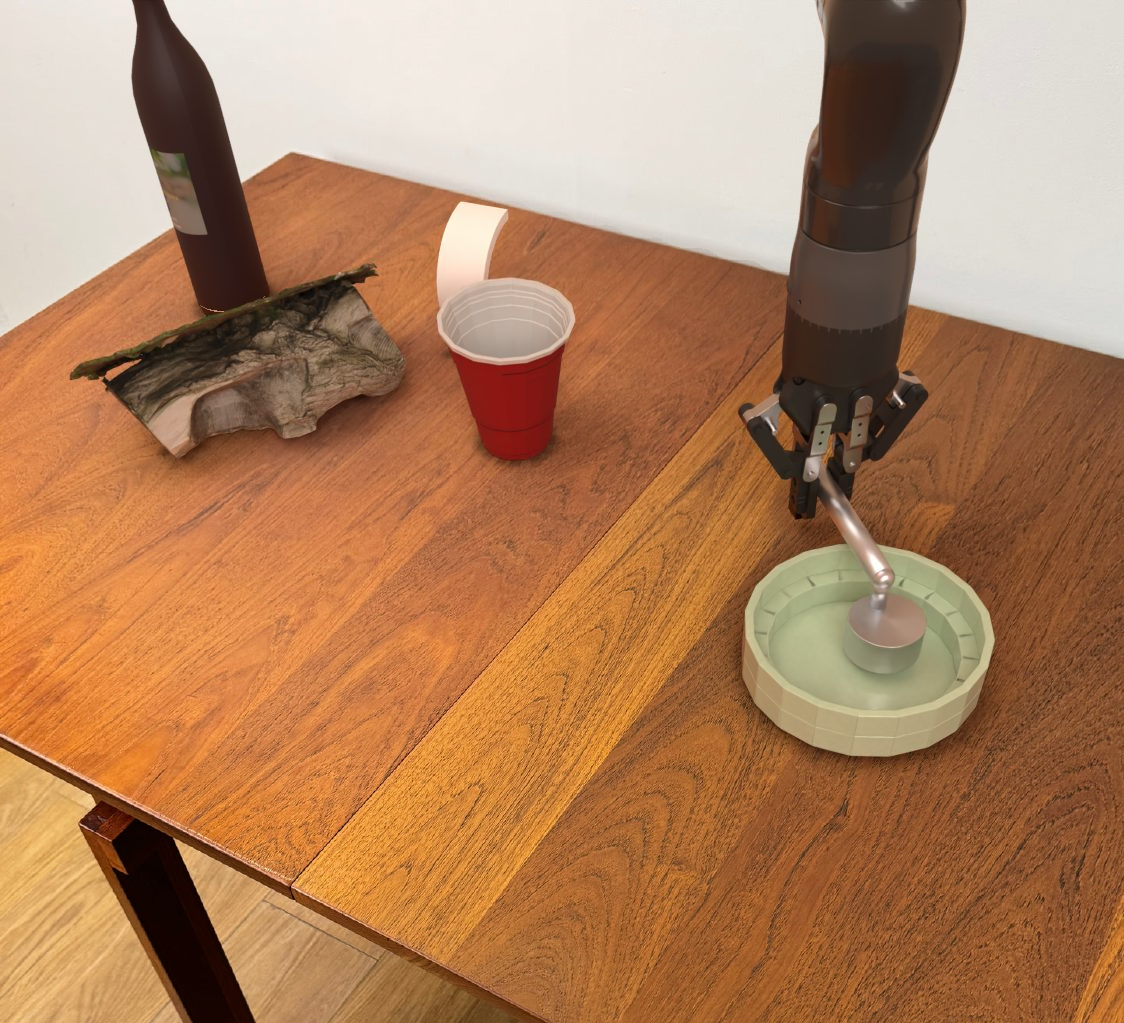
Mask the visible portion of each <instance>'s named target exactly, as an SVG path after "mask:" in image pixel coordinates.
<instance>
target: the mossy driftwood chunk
mask: <svg viewBox="0 0 1124 1023" xmlns="http://www.w3.org/2000/svg"><path fill="white" fill-rule="evenodd" d="M373 268H375V269H373ZM376 269H378V267H377V265H376V264H375V263H364V264H362V265H360V266H359V267H358V268H355V269H351V270H348V271H347V270H346V271H340V272H338V273H336V274H332V275H328V276H326V277H322V278H318V279H316V280H313V281H307V282H304V283H301V284H297V285H294V286H292V287H289V288H284V289H282V290H281V291H279V293H277V294H275V295H272V296H269V297H268V298H262V299H258V300H256V301H254V302H251V303H246V304H245V305H243V306H240V307H237V308H234V309H231V310H227V311H224V312H221V313H218V314H214V315H210V316H208V315H207V316H204V317H203V318H200V319H197V320H196V321H193V322H192V323H186V324H182V325H181V326H179V327H177V328H175V329H171V330H166V331H162V332H161V333H159V334H158V335H156V336H154V337H153V338H151V339H149V340H145V341H143V342H140V344H138V345H136V346H134V347H130V348H126V349H121V350H118V351H115V352H113V354H111V355H106V356H102V357H98V358H92V359H89V360H85V361H83V362H81V363H79V364H78V365H76V367H75V368H73V371H70V373H69V381H74V380H78V379H79V380H80V379H81V378H83V377H84V378H87V382H89V381H98V380H100V379H101V378H102V380H100V382H101V383H103V384H104V385H105V387H106V388H105V389H104V391H105V392H106V393H110V394H111V395H112V396H113V397H114V398H116V400H117V401H118V402H119V403H120V404H122V406H123V407H124V408H125V409H126V410H127V411H128V412H129V413H130V414H131V415H132V416H133V417H134V418H135V419H136V420H137V421H139V423H140V424H141V425H142V427H144V428H145V429H146V430H147V431H148V432H149V433H150V435H151V436H152V437H153V438H155V439H156V441H157V442H158V443H159V444H161V446H163V448H165V449H166V451H167V452H169V453H170V454H171V455H172V456H173V457H174V458H176V459H179V460H180V459H181V457H183V456H186V455H187V453H188V452H190V451H191V450H192V449H194V448H197V447H198V446H199V444H201V443H202V442H203V441H204V440H206V439H207V438H210V437H213V436H217V435H225V434H233V433H235V432H237V431H239V430H241V429H243V430H248V431H255V430H260V431H261V430H265V429H272V430H274V431H275V432H276V434H277V436H279V437H280V438H283V439H292V438H298V437H302V436H306V435H307V434H310V433H312V432H314V431H316V430H317V422H318V420H319V419H320V418H321V417H322V416H323V415H324V414H325V413H326V412H327V411H328V410H330V409H332V408H333V407H335V406H337V405H339V404H340V403H342V402H343V401H347V400H349V399H353V398H355V397H357V396H359V395H363V396H368V397H369V398H373V397H381V396H386V395H387V394H390V393H391V392H394V391H395V390H396V389H398V388H399V386H400V384H401V383H402V382H401V381H402V380H403V376H404V374H405V372H406V371H407V368H406V367H407V362H406V361H407V360H406V358H405V355H404V354H403V352H402V351H401V350H400V348H399V347H398V345H397V344H396V342H395V341H394V339H392V337H391V335H389V333H388V332H387V331H386V330H385V328H384V327H383V325H382V324H380V322H379V321H378V319H376V317H375V315H374V314H373V311H372V309H371V307H370V306H369V305H368V303H367V301H366V300H365V299H364V297H363V296H362V295H361V294H362V293H360V292H359V290H358V289H357V288H356V286H355V284H365V282H366V279H367V278H371V277H380V275H379V274H378V273H377V272H378V271H377V270H376ZM137 361H138V362H137ZM135 362H136V363H135ZM127 363H129V364H130V363H132V365H130V366H129V367H128V368H126V369H124V370H123V371H122V372H120V373H118V374H117V375H116V376H114V377H113V378H111V379H110V380H109V379H108V378H107V377H106V376H107V374H108V372H110V371H111V370H113V369H114V370H115V369H116V368H118V367H121V366H123V365H124V364H127ZM134 363H135V364H134Z"/></svg>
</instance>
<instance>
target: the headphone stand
mask: <svg viewBox="0 0 1124 1023" xmlns="http://www.w3.org/2000/svg"><path fill="white" fill-rule="evenodd" d="M508 220H509V209H508V208H501V207H497V206H491V205H485V204H479V203H472V202H467V201H460V202H459V203H458V204H457V206H456V207H455V208H454V210H453V212H452V213H451V215H450V217H449V219H448V220H447V223H446V226H445V229H444V232H443V235H442V238H441V243H440V246H439V252H438V258H437V259H438V260H437V265H436V294H437V301H438V307H439V310H440V309H441V307H442V305H443V303H444V301H445V300H446V299H447V298H449V297H450V296H451V295H453V294H454V293H456V292H457V291H458V290H460V289H461V288H462V287H465V286H468V285H471V284H474V283H477V282H480V281H483V280H487V279H489V273H490V266H491V261H492V255H493V253H494V248H495V246H496V242H497V240H498V237H499V235H500V233H501V231H502V229H503V227H504V226H505V224H506V223H507V221H508Z"/></svg>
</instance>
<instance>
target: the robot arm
mask: <svg viewBox="0 0 1124 1023" xmlns="http://www.w3.org/2000/svg"><path fill="white" fill-rule="evenodd" d="M814 1H815V2H814V3H815V7H816V8H815V9H816V12H817V16H818V20H819V24H820V27H821V32H822V35H823V41H824V42H823V44H824V45H823V46H824V48H823V49H824V50H823V51H824V52H823V73H822V75H823V76H822V87H821V97H820V105H819V116H818V123H817V124H816V126H815V127H814V129H813V130H812V132H811V134H810V138H809V140H808V143H807V147H806V152H805V156H804V164H803V170H802V172H803V173H802V181H801V183H802V184H801V194H800V202H799V203H800V204H799V213H798V214H799V215H798V222H797V229H796V233H795V237H794V240H793V246H792V250H791V256H790V263H789V274H788V276H787V280H786V293H787V295H786V304H785V305H786V306H785V316H784V326H783V338H782V348H781V369H780V373H779V375H778V377H777V378H776V380H775V381H774V384H773V386H772V394H771V395H770V396H768V397H767V398H765V399H764V400H763V401H761V402H760V403H758V404H757V405H755V404H753V403H752V402H744V403H743V404H741V405H740V406H739V408H738V410H737V415H738V417H739V418H740V420H741V422H742V424H743V425H744V427H745V429H746V430H747V432H748V434H749V435H750V437H751V438H752V440H753V442H755V444H756V446H757V447H758V448H759V450H760V451H761V453H762V454H763V456H765V458H766V460H767V461H768V463H769V464H770V465H771V467H772V468H773V470H774V471H775V472H776V474H777V475H778V477H779V478H780V479H781V480H783V481H787V480H790V485H789V494H788V500H789V499H790V501H791V503H792V505H793V507H794V508H795V510H796V512H797V513H798V514H801V516H802V517H803V519H802V520H804V521H806V520H811V519H815V517H816V513H817V505H818V499H819V498H818V491H819V483H820V479H819V478H818V475H819V472H820V466H821V461H823V456H825V455H827V453H828V448H829V442H830V439H831V436H832V441H831V451H832V453H833V456H829V457H827V462H826V467H827V468H828V470H829V472H830V473H831V475H832V476H833V478H834V479H835V481H836V482H837V484H838V486H839V487H840V489H841V490H842V492H843V493H844V495H845V496H846V498H847V499H848V501H849V502H850V501H851V499H852V497H853V490H854V484H855V478H856V472H857V471H859V470H860V468H861V466H862V463H864V462H866V461H869V460H870V461H872V462H877V461H881V459H883V458H884V457H885V456H886V455H887V453H888V451H889V450H890V449H891V448H892V446H893V445H894V444H895V442H896V441H897V440H898V438H899V437H900V436H901V435H902V433H903V432H904V430H906V428H907V426H908V425H909V424H910V422H912V420H913V418H914V417H915V416H916V414H917V413H918V412H919V411H920V409H921V408H922V407H923V405H924V404H925V403H926V402H927V400H928V398H929V391H928V390H927V389H926V387H925V386H924V384H923V383H922V381H921V380H920V379H919V377H918V376H916V374H915V373H914V372H913V371H912V370H909V369H907V370H903V371H902V372H900V370H899V367H898V366H897V364H898V361H899V358H900V355H901V354H900V353H901V347H902V343H903V337H904V332H905V326H906V319H907V314H908V309H909V303H910V298H911V293H912V286H913V280H914V275H915V269H916V263H917V262H916V260H917V243H918V242H917V241H918V240H917V239H918V230H919V224H920V223H919V222H920V218H921V212H922V206H923V199H924V195H925V190H926V189H925V188H926V183H927V175H928V168H929V158H930V151H931V147H932V145H933V143H934V141H935V138H936V136H937V134H938V131H939V129H940V127H941V126H940V125H941V122H942V119H943V117H944V114H945V110H946V108H947V105H948V102H949V99H950V96H951V92H952V89H953V87H954V82H955V80H956V76H957V72H958V69H959V65H960V60H961V55H962V50H963V45H964V38H965V31H966V22H967V0H814ZM782 412H784V414H786V416H787V417H788V418H789V419H790V421H791V422H792V425H791V432H792V436H793V438H792V444H791V445H792V446H791V450H790V449H784V447H783V446H782V444H781V443H780V441H779V439H778V438H777V437H776V436H777V435H778V434H779V428H780V421H779V417H780V414H781V413H782Z"/></svg>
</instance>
